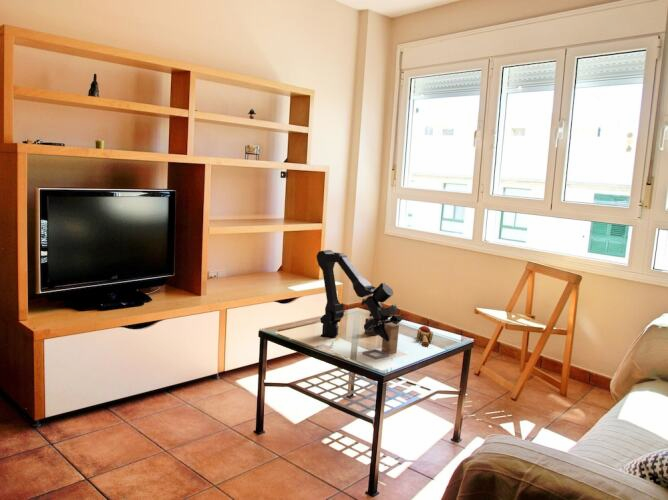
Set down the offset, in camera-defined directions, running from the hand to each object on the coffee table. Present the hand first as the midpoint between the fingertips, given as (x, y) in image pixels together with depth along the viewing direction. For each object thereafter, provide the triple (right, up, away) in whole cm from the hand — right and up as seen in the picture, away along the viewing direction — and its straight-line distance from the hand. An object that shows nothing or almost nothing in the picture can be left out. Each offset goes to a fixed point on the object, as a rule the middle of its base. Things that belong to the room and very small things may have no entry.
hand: (392, 340), depth 239 cm
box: (-6, -2, +32) cm, 32 cm away
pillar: (-1, -5, +2) cm, 6 cm away
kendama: (+17, -5, +25) cm, 30 cm away
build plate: (-4, -6, -1) cm, 8 cm away
